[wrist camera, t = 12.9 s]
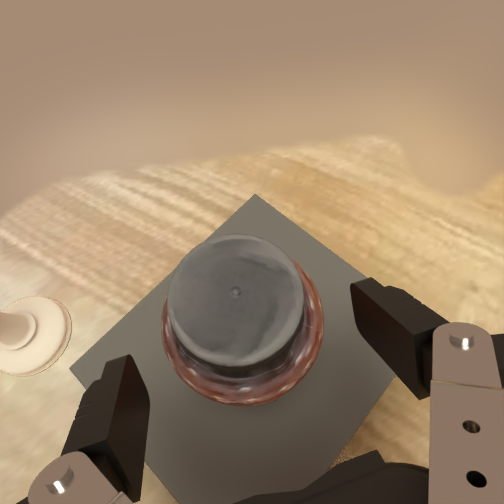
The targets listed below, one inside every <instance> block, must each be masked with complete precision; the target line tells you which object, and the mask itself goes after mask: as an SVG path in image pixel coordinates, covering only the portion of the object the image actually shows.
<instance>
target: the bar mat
mask: <svg viewBox="0 0 504 504" xmlns="http://www.w3.org/2000/svg"><path fill="white" fill-rule="evenodd" d="M227 234H248V235H254V236H257V237H261V238H264V239H266V240H268V241H270V242H272V243H274V244H275V245H276V246H278V247H279V248H281V249H282V250H283V251H284V252H285V253H286V254H287V255H288V256H289V257H290V258H292V259H293V260H294V261H296V262H297V263H298V264H299V265H300V266H301V267H302V268H303V269H304V270H305V272H306V273H307V274H308V275H309V277H310V278H311V280H312V282H313V283H314V285H315V287H316V289H317V291H318V294H319V296H320V299H321V304H322V308H323V315H324V331H323V339H322V344H321V348H320V350H319V353H318V356H317V358H316V360H315V362H314V364H313V366H312V367H311V369H310V370H309V372H308V373H307V374H306V375H305V377H304V378H303V379H302V380H301V381H300V382H299V383H298V384H297V385H296V386H295V387H294V388H293V389H292V390H290V391H289V392H288V393H286V394H285V395H283V396H282V397H280V398H278V399H277V400H275V401H272V402H270V403H267V404H263V405H257V406H232V405H226V404H222V403H218V402H215V401H213V400H210V399H208V398H206V397H204V396H202V395H200V394H199V393H197V392H196V391H194V390H193V389H192V388H191V387H189V386H188V385H187V384H186V383H185V382H184V381H183V380H182V379H181V378H180V376H179V375H178V374H177V373H176V371H175V370H174V368H173V367H172V365H171V363H170V362H169V360H168V358H167V355H166V353H165V350H164V347H163V343H162V336H161V317H162V310H163V306H164V300H165V298H166V295H167V293H168V288H169V284H170V281H171V278H172V276H173V274H174V271H175V270H176V268H175V269H174V270H173V271H172V272H171V273H170V274H169V275H168V276H167V277H166V278H165V279H164V280H163V281H162V282H161V283H159V284H158V285H157V286H156V287H155V288H154V289H153V290H152V291H151V292H150V293H149V294H148V295H147V296H146V297H145V298H143V299H142V300H141V301H140V302H139V303H138V304H137V305H136V306H135V307H134V308H133V309H132V310H131V311H130V312H129V313H127V314H126V315H125V316H124V317H123V318H122V319H121V320H120V321H119V322H118V323H117V324H116V325H115V326H114V327H113V328H112V329H110V330H109V331H108V332H107V333H106V334H105V335H104V336H103V337H102V338H101V339H100V340H99V341H98V342H97V343H96V344H94V345H93V346H92V347H91V348H90V349H89V350H88V351H87V352H86V353H85V354H84V355H83V356H82V357H81V358H80V359H78V360H77V361H76V362H75V363H74V364H73V365H72V366H71V367H70V368H69V369H70V370H71V372H72V373H73V374H74V375H75V376H76V378H77V379H78V380H79V381H80V383H81V384H82V385H83V386H84V387H85V389H86V390H87V389H88V388H89V386H90V385H91V384H92V383H93V381H95V380H98V379H101V376H102V373H103V370H104V367H105V364H106V362H107V361H109V360H112V359H115V358H118V357H121V356H124V355H128V354H130V355H131V356H132V357H133V359H134V361H135V363H136V365H137V368H138V370H139V372H140V374H141V377H142V379H143V381H144V383H145V385H146V388H147V390H148V394H149V398H150V414H149V423H148V432H147V441H146V451H145V460H144V461H145V462H146V464H147V465H148V466H149V467H150V468H151V470H152V471H153V472H154V473H155V475H156V476H157V477H158V478H159V480H160V481H161V482H162V483H163V484H164V486H165V487H166V488H167V489H168V491H169V492H170V493H171V494H172V495H173V497H174V498H175V499H176V500H177V502H178V503H179V504H233V503H236V502H238V501H241V500H244V499H246V498H249V497H252V496H254V495H259V494H269V493H279V492H289V491H298V490H302V489H304V488H306V487H307V486H308V485H310V484H311V483H313V482H314V481H315V480H317V479H318V478H320V477H321V476H322V475H324V474H325V473H326V472H327V471H328V469H329V468H330V466H331V465H332V464H333V462H334V461H335V459H336V458H337V457H338V455H339V454H340V452H341V451H342V450H343V448H344V447H345V445H346V444H347V443H348V441H349V440H350V438H351V437H352V436H353V434H354V433H355V431H356V430H357V429H358V427H359V426H360V424H361V423H362V422H363V420H364V419H365V417H366V416H367V415H368V413H369V412H370V410H371V409H372V408H373V406H374V405H375V403H376V402H377V401H378V399H379V398H380V397H381V395H382V394H383V392H384V391H385V390H386V388H387V387H388V385H389V384H390V383H391V381H392V380H393V378H394V377H395V376H396V374H395V373H394V372H393V371H392V369H391V368H390V367H389V366H388V365H387V364H386V363H385V362H384V360H383V359H382V358H381V357H380V356H379V355H378V354H377V353H376V352H375V350H374V349H373V348H372V347H371V346H370V345H369V344H368V343H367V342H366V340H365V339H364V338H363V337H362V336H361V334H360V333H359V331H358V329H357V326H356V323H355V319H354V313H353V306H352V300H351V293H350V284H351V283H354V282H357V281H360V280H363V279H366V278H367V277H366V276H364V275H363V274H362V273H360V272H359V271H358V270H356V269H355V268H354V267H352V266H351V265H350V264H348V263H347V262H345V261H344V260H343V259H341V258H340V257H339V256H337V255H336V254H335V253H333V252H332V251H331V250H329V249H328V248H327V247H325V246H324V245H323V244H321V243H320V242H319V241H317V240H316V239H315V238H313V237H312V236H311V235H309V234H308V233H307V232H305V231H304V230H303V229H301V228H300V227H299V226H297V225H296V224H295V223H293V222H292V221H291V220H289V219H288V218H287V217H285V216H284V215H283V214H281V213H280V212H279V211H277V210H276V209H275V208H273V207H272V206H271V205H269V204H268V203H267V202H265V201H264V200H263V199H261V198H260V197H259V196H257V195H256V194H254V195H253V196H252V197H251V198H250V199H249V200H248V201H247V202H246V203H245V204H244V205H243V206H241V207H240V208H239V209H238V210H237V211H236V212H235V213H234V214H233V215H232V216H231V217H230V218H229V219H228V220H227V221H226V222H224V223H223V224H222V225H221V226H220V227H219V228H218V229H217V230H216V231H215V232H214V233H213V234H212V235H211V236H210V237H208V238H207V239H206V240H205V241H207V240H209V239H211V238H214V237H218V236H221V235H227ZM205 241H204V242H205Z"/></svg>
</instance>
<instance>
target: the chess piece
mask: <svg viewBox="0 0 504 504" xmlns="http://www.w3.org/2000/svg"><path fill="white" fill-rule="evenodd" d="M70 334H71V320H70V316H69V314H68V312H67V310H66V309H65V307H64V306H63V305H62V304H60V303H59V302H57V301H55V300H53V299H49V298H45V297H39V296H34V297H27V298H24V299H21V300H18V301H16V302H14V303H13V304H11V305H10V306H8V307H7V308H6V309H4V310H3V311H2V312H0V371H2V372H5V373H7V374H9V375H13V376H19V377H23V376H30V375H34V374H37V373H39V372H41V371H43V370H45V369H46V368H48V367H49V366H51V365H52V364H53V363H54V362H55V361H56V360H57V359H58V358H59V357H60V356H61V354H62V353H63V351H64V350H65V348H66V346H67V344H68V341H69V338H70Z"/></svg>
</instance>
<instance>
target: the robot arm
mask: <svg viewBox="0 0 504 504" xmlns="http://www.w3.org/2000/svg"><path fill="white" fill-rule="evenodd" d="M350 293H351V300H352V306H353V313H354V319H355V323H356V326H357V329H358V331H359V333H360V334H361V336H362V337H363V338H364V339H365V340H366V342H367V343H368V344H369V345H370V346H371V347H372V348H373V349H374V350H375V352H376V353H377V354H378V355H379V356H380V357H381V358H382V359H383V360H384V362H385V363H386V364H387V365H388V366H389V367H390V368H391V369H392V371H393V372H394V373H395V374H396V375H397V376H398V377H399V378H400V379H401V381H402V382H403V383H404V384H405V385H406V386H407V387H408V388H409V389H410V391H411V392H412V393H413V394H414V395H415V396H416V397H417V398H418V400H421V399H424V398H427V397H429V396H430V446H429V469H428V468H425V467H422V466H418V465H414V464H407V463H394V462H390V463H385V462H384V460H383V459H382V457H381V456H380V454H379V452H378V451H377V450H374V451H372V452H369V453H366V454H364V455H361V456H358V457H356V458H353V459H350V460H348V461H345V462H342V463H340V464H338V465H336V466H335V467H333V468H332V469H331V470H329V471H328V472H326V473H325V474H324V475H322V476H321V477H320V478H318V479H317V480H315V481H314V482H313V483H311V484H310V485H308V486H307V487H306V488H304V489H302V490H298V491H289V492H279V493H269V494H259V495H254V496H252V497H249V498H246V499H244V500H241V501H238V502H236V503H233V504H504V334H496V335H490V334H489V333H488V332H487V331H485V330H484V329H482V328H480V327H478V326H476V325H473V324H469V323H461V322H453V323H450V322H448V321H447V320H446V319H444V318H443V317H441V316H440V315H438V314H437V313H436V312H434V311H433V310H431V309H430V308H428V307H427V306H426V305H424V304H422V303H421V302H420V301H418V300H417V299H416V298H413V296H411V295H410V294H408V293H407V292H406V291H404V290H402V289H399V288H396V287H392V286H386V287H384V286H382V285H381V284H380V283H378V282H377V281H376V280H374V279H373V278H371V277H370V278H366V279H363V280H360V281H357V282H354V283H351V284H350ZM149 414H150V398H149V394H148V390H147V388H146V385H145V383H144V381H143V379H142V377H141V374H140V372H139V370H138V368H137V365H136V363H135V361H134V359H133V357H132V356H131V355H130V354H128V355H124V356H121V357H118V358H115V359H112V360H109V361H107V362H106V364H105V367H104V370H103V373H102V376H101V379H98V380H95V381H93V383H92V384H91V385H90V386H89V388H88V389H87V390H86V391H85V393H84V394H83V397H82V399H81V402H80V405H79V409H78V410H77V413H76V416H75V420H74V421H73V424H72V426H71V429H70V432H69V434H68V437H67V440H66V442H65V445H64V448H63V451H62V453H61V456H60V457H59V458H57V459H55V460H54V461H53V462H51V463H50V464H49V465H47V466H46V467H45V468H44V469H43V470H42V471H41V472H40V473H39V475H38V476H37V477H36V478H35V480H34V481H33V483H32V485H31V487H30V489H29V493H28V497H26V498H25V499H23V500H21V501H20V502H18V503H16V504H133V503H135V502H137V501H140V496H141V487H142V478H143V469H144V460H145V451H146V441H147V432H148V423H149Z"/></svg>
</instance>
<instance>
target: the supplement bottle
mask: <svg viewBox="0 0 504 504" xmlns="http://www.w3.org/2000/svg"><path fill="white" fill-rule="evenodd" d="M323 331H324V315H323V308H322V304H321V299H320V296H319V294H318V291H317V289H316V287H315V285H314V283H313V282H312V280H311V278H310V277H309V275H308V274H307V273H306V272H305V270H304V269H303V268H302V267H301V266H300V265H299V264H298V263H297V262H296V261H294V260H293V259H292V258H290V257H289V256H288V255H287V254H286V253H285V252H284V251H283V250H282V249H281V248H279V247H278V246H276V245H275V244H274V243H272V242H270V241H268V240H266V239H264V238H261V237H257V236H254V235H248V234H227V235H221V236H218V237H214V238H211V239H209V240H207V241H205V242H203V243H201V244H199V245H198V246H196V247H195V248H194V249H192V250H191V251H190V252H189V253H188V254H187V255H186V256H185V257H184V258H183V259H182V261H181V262H180V264H179V265H178V266H177V268H176V270H175V271H174V274H173V276H172V278H171V281H170V284H169V288H168V293H167V295H166V298H165V300H164V306H163V310H162V317H161V336H162V343H163V347H164V350H165V353H166V355H167V358H168V360H169V362H170V363H171V365H172V367H173V368H174V370H175V371H176V373H177V374H178V375H179V376H180V378H181V379H182V380H183V381H184V382H185V383H186V384H187V385H188V386H189V387H191V388H192V389H193V390H194V391H196V392H197V393H199V394H200V395H202V396H204V397H206V398H208V399H210V400H213V401H215V402H218V403H222V404H226V405H232V406H257V405H263V404H267V403H270V402H272V401H275V400H277V399H278V398H280V397H282V396H283V395H285V394H286V393H288V392H289V391H290V390H292V389H293V388H294V387H295V386H296V385H297V384H298V383H299V382H300V381H301V380H302V379H303V378H304V377H305V375H306V374H307V373H308V372H309V370H310V369H311V367H312V366H313V364H314V362H315V360H316V358H317V356H318V353H319V350H320V348H321V344H322V339H323Z"/></svg>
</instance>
